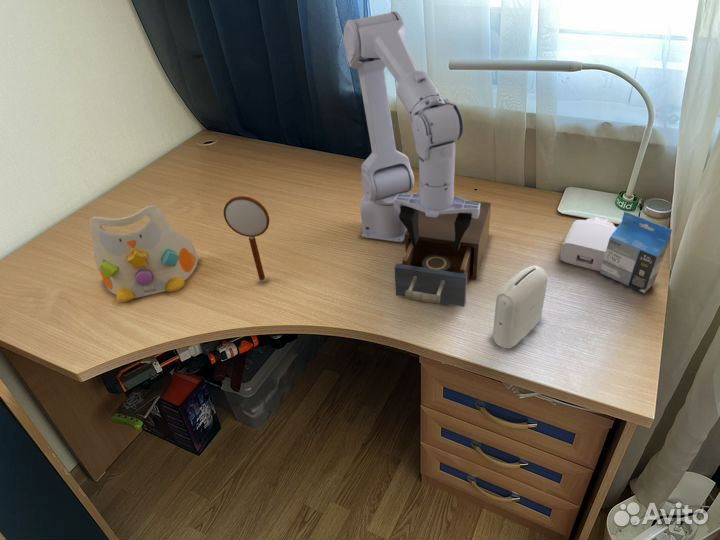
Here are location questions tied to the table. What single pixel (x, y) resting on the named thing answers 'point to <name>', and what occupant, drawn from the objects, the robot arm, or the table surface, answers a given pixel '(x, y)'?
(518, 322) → the photo printer
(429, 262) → the cylinder
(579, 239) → the charger
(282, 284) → the table surface
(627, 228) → the label tape box
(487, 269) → the table surface
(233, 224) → the magnifying glass
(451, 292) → the drawer
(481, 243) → the cabinet
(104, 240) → the shape sorter
